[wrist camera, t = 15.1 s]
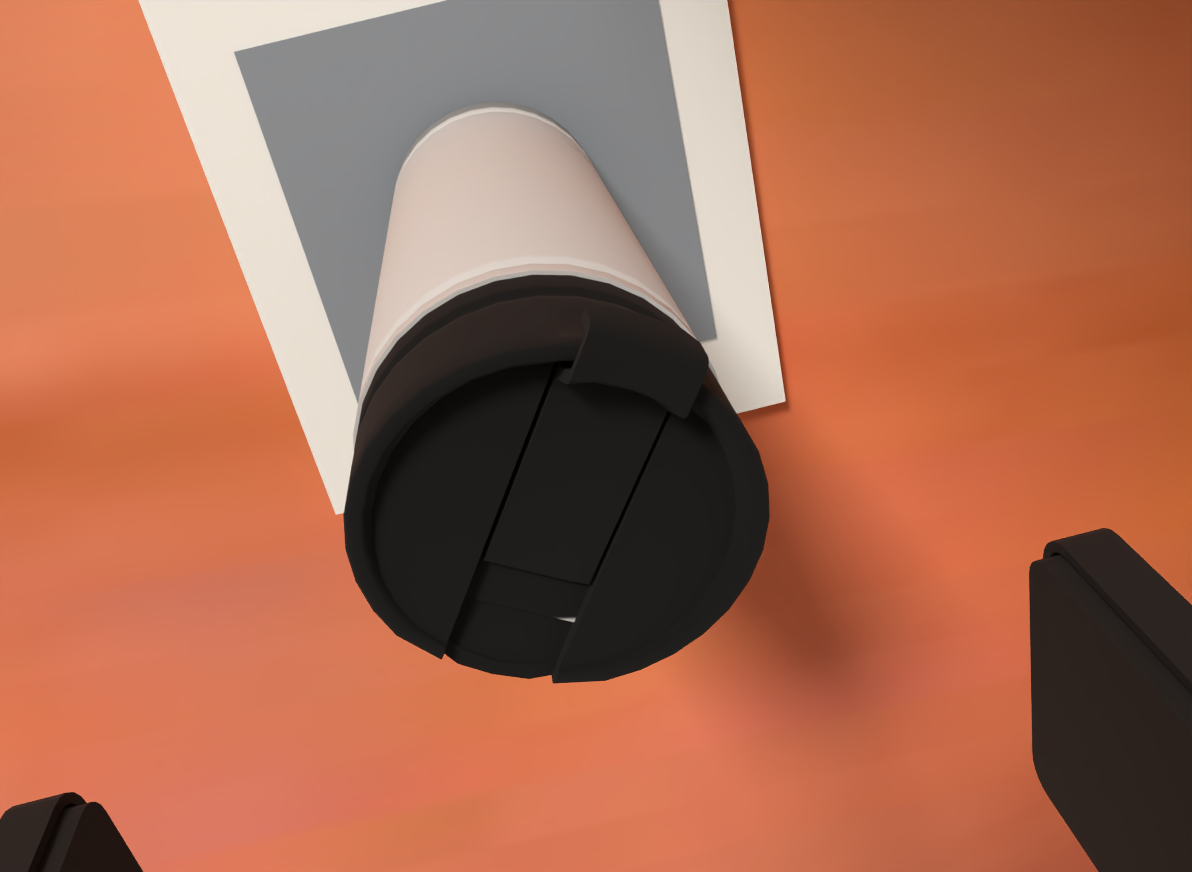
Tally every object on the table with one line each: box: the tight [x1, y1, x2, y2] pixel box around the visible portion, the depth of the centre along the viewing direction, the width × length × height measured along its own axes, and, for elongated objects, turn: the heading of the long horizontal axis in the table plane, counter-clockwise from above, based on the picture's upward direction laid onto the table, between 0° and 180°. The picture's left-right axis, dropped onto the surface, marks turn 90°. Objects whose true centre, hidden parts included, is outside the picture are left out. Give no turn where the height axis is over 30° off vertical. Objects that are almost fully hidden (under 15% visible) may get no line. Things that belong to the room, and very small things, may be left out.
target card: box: [139, 0, 785, 514], centre depth 33 cm, size 18×16×1 cm
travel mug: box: [344, 102, 769, 683], centre depth 24 cm, size 6×7×20 cm
